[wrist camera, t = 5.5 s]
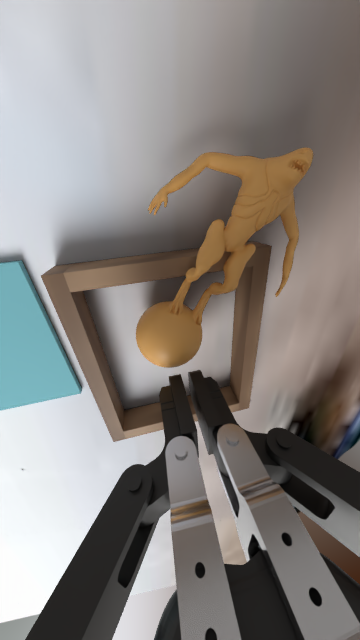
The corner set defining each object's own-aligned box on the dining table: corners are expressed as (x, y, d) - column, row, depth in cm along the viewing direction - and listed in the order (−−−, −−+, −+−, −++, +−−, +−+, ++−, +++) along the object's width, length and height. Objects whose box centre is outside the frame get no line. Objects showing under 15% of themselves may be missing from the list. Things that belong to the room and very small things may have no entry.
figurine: (79, 354, 10) (262, -15, 3) (109, 286, 15) (217, 61, 7) (205, 394, 13) (443, 257, 6) (200, 328, 18) (338, 201, 10)
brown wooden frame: (253, 241, 13) (271, 245, 11) (238, 390, 20) (248, 407, 18) (54, 265, 11) (40, 275, 9) (115, 419, 18) (113, 441, 16)
